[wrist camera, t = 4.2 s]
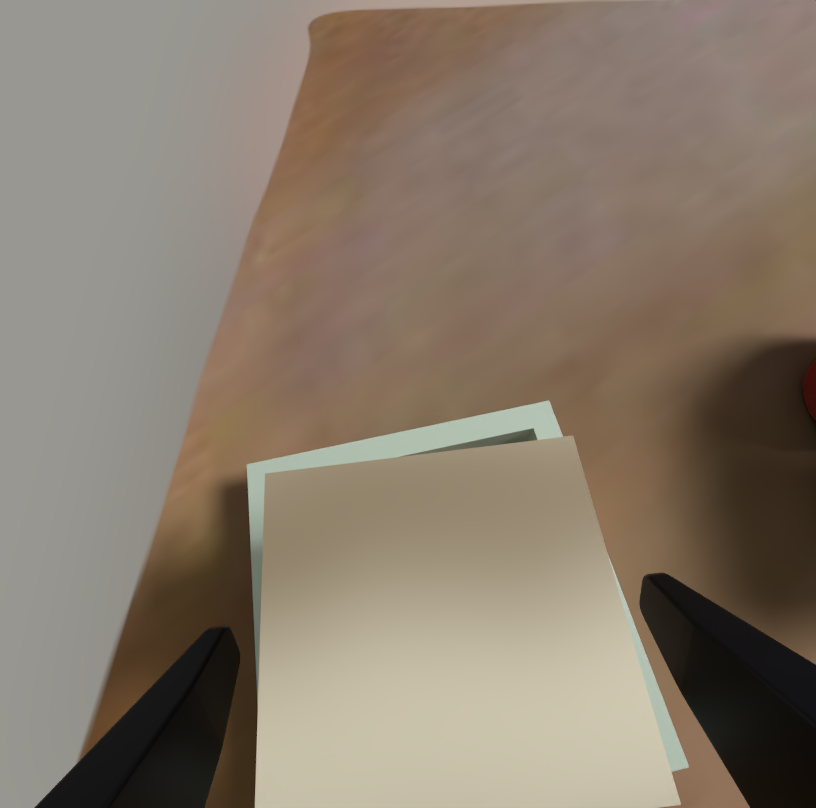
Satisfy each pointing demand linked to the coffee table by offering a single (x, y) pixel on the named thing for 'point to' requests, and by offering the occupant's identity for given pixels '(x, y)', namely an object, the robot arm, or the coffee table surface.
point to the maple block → (448, 640)
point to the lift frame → (431, 439)
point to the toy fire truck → (810, 389)
